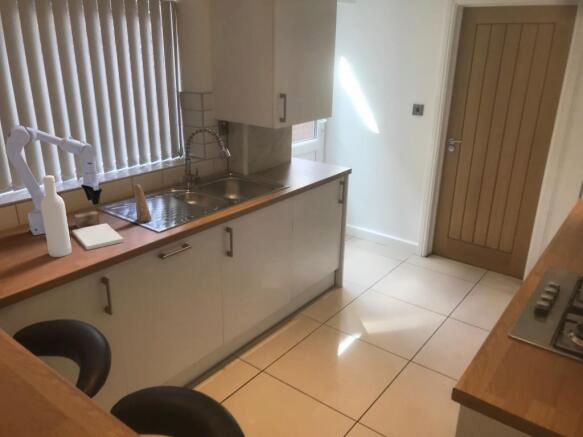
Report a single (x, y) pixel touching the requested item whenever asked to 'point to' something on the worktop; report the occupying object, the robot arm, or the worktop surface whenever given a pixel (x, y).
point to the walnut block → (87, 219)
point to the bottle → (55, 220)
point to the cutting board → (97, 236)
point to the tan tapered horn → (141, 205)
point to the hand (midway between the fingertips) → (93, 202)
